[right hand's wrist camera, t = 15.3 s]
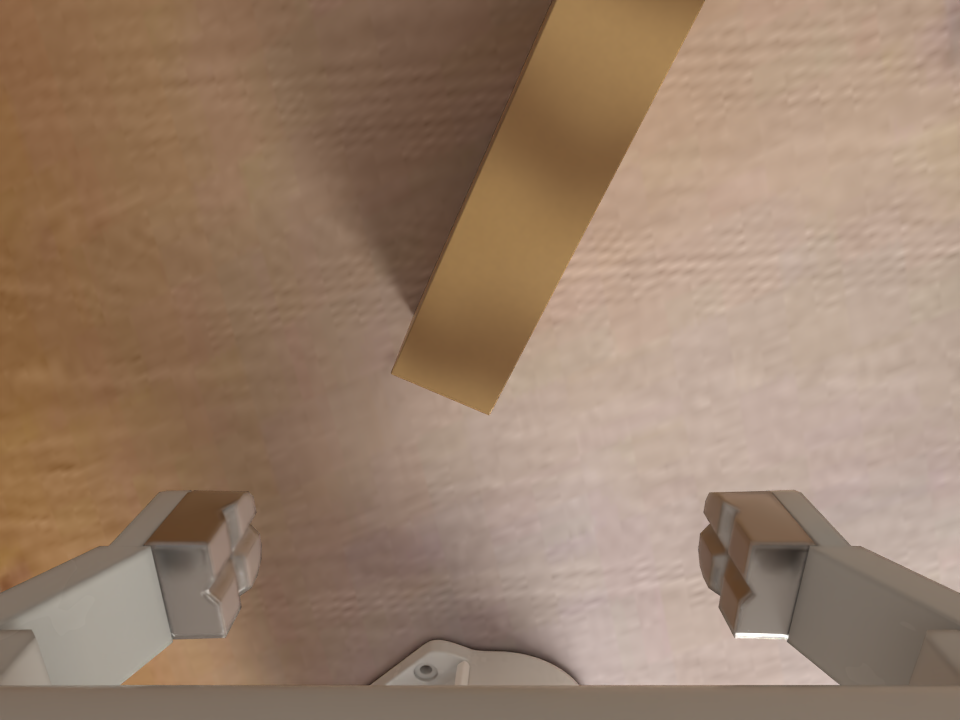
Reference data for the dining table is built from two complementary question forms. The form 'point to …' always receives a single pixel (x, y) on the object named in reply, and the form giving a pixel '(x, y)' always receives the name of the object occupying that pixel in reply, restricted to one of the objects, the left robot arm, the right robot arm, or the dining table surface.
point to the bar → (538, 189)
